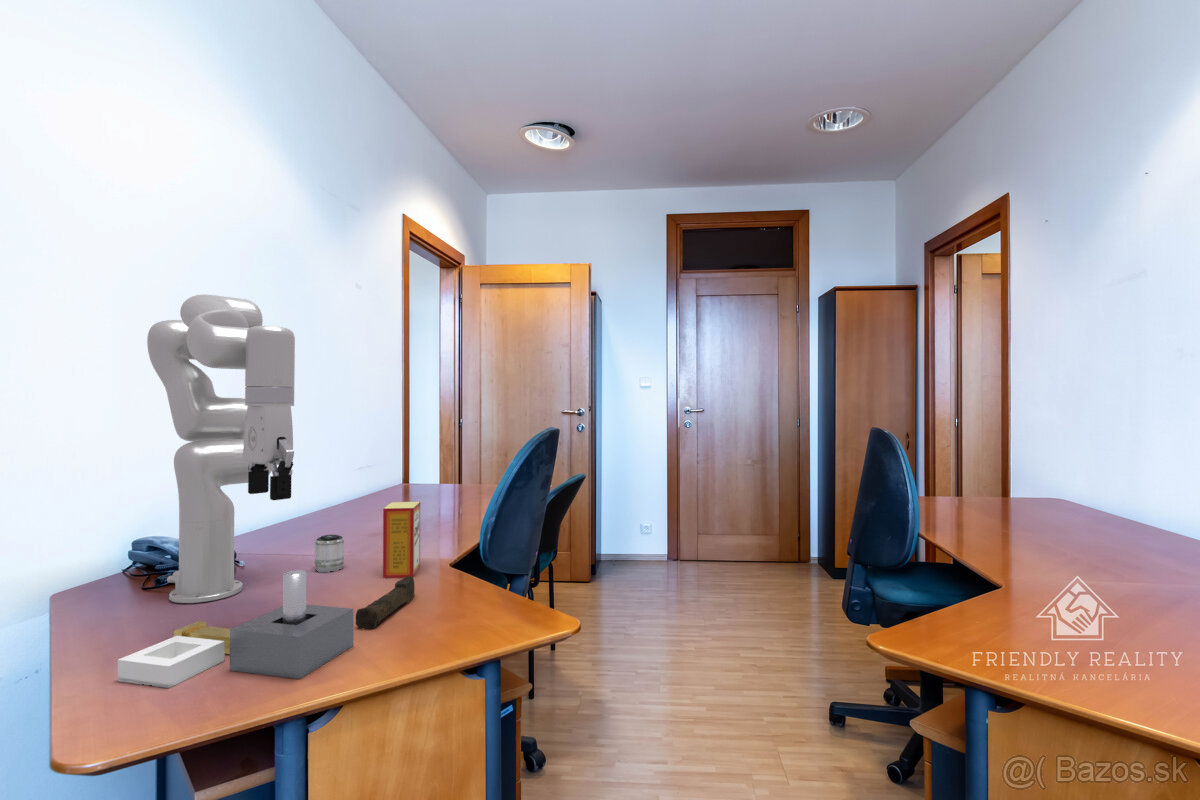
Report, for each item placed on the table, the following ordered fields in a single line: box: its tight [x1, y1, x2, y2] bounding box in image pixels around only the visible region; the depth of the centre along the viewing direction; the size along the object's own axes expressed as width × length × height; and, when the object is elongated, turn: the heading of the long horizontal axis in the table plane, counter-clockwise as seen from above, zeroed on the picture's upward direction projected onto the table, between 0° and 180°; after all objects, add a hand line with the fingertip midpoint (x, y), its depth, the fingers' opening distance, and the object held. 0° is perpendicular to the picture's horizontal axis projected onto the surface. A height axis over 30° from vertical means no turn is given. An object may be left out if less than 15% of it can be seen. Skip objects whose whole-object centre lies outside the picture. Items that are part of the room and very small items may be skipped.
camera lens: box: [314, 534, 345, 573], centre depth 141 cm, size 6×6×8 cm
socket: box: [229, 603, 354, 680], centre depth 92 cm, size 12×12×6 cm
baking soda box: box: [382, 501, 421, 579], centre depth 139 cm, size 10×6×16 cm
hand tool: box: [355, 576, 415, 630], centre depth 113 cm, size 19×4×5 cm, turn 170°
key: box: [173, 620, 231, 655], centre depth 95 cm, size 13×4×3 cm, turn 77°
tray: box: [117, 636, 225, 689], centre depth 87 cm, size 9×9×3 cm
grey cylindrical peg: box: [282, 569, 307, 625], centre depth 92 cm, size 3×3×13 cm
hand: (269, 496), depth 104 cm, fingers open, 9 cm apart
